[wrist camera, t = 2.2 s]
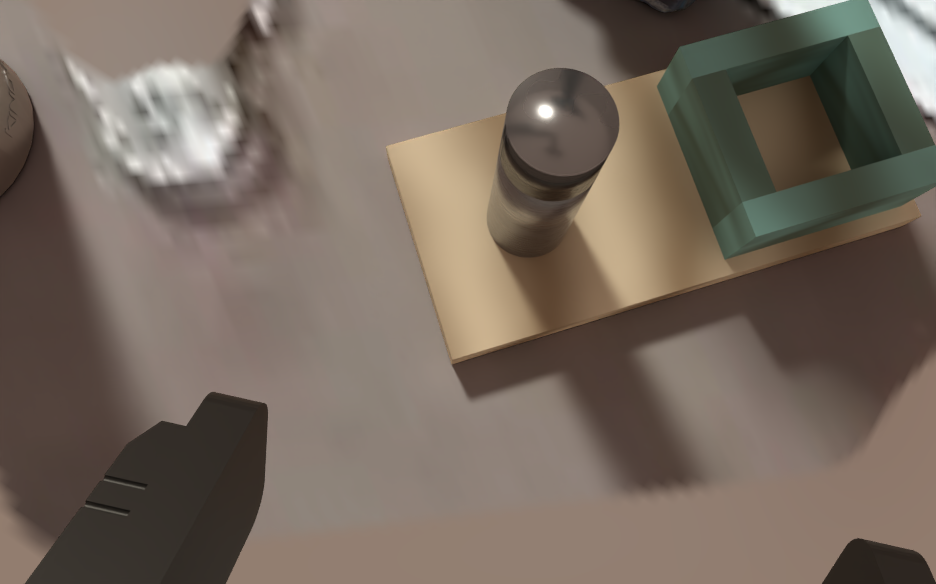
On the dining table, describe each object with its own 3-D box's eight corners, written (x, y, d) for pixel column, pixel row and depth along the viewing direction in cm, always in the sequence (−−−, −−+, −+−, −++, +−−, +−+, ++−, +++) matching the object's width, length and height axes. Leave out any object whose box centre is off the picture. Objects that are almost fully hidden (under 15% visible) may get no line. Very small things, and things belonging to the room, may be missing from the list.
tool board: (451, 364, 35) (453, 347, 30) (387, 159, 37) (380, 111, 32) (902, 225, 37) (973, 189, 32) (819, 39, 39) (874, -23, 34)
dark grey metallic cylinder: (501, 267, 34) (526, 187, 24) (475, 192, 35) (491, 84, 25) (579, 244, 35) (635, 156, 25) (553, 170, 35) (597, 55, 26)
